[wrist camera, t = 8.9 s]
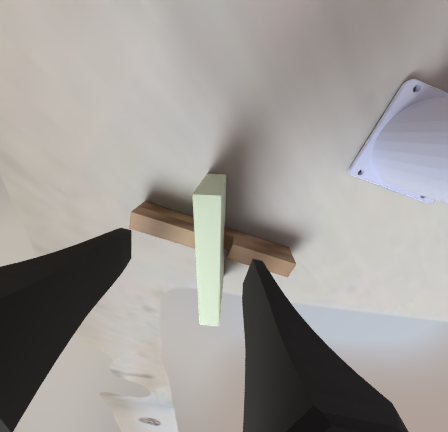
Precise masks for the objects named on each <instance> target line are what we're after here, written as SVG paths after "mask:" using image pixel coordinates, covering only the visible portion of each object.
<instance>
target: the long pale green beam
mask: <svg viewBox="0 0 448 432" xmlns="http://www.w3.org/2000/svg"><path fill="white" fill-rule="evenodd" d="M192 196H193V214H194V232H195V251H196V269H197V287H198V305H199V324H200V325H209V326H219V319H220V309H221V299H222V288H223V277H224V224H225V209H226V174H209V173H207V175H206V176H205V178H204V179H203V180H202V182H201V183H200V185H199V186H198V187H197V189H196V190H195V192H194V193H193V194H192Z"/></svg>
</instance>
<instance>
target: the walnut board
mask: <svg viewBox="0 0 448 432" xmlns="http://www.w3.org/2000/svg"><path fill="white" fill-rule="evenodd" d="M129 228H130V229H133V230H136V231H139V232H143V233H146V234H149V235H152V236H156V237H159V238H162V239H165V240H169V241H172V242H175V243H178V244H182V245H185V246H188V247H191V248H194V249H195V232H194V217H192V216H189V215H186V214H183V213H179V212H176V211H173V210H170V209H167V208H164V207H161V206H158V205H155V204H152V203H148V202H143V203H142V204H141V205H139V206H138V207H137V208H136V209H134V210H133V211H132V212H131V217H130V226H129ZM224 249H225V250H228V252H227V259H230V260H233V261H237V262H240V263H243V264H246V265H249V266H250V264H251V261H252V259H257V260H261V261H263V262H264V264H265V265H266V267H267V269H268V270H269V272H272V273H275V274H279V275H282V276H285V277H288V276H289V275H290V273H291V271H292V270H293V268H294V267H295V265H296V262H295V260H294V258H293V256H292V254H291V251H290V249H289V248H288V247H285V246H282V245H279V244H275V243H272V242H269V241H266V240H263V239H260V238H257V237H254V236H251V235H248V234H244V233H241V232H238V231H235V230H232V229H229V228H226V227H224Z"/></svg>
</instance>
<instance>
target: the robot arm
mask: <svg viewBox="0 0 448 432" xmlns="http://www.w3.org/2000/svg"><path fill="white" fill-rule="evenodd" d="M415 86H416V90H415V92H413V88H414V87H415ZM360 170H361V173H360V174H358V172H359V171H360ZM349 174H350V175H352V176H355V177H357V178H360V179H363V180H366V181H368V182H371V183H374V184H377V185H379V186H382V187H385V188H387V189H390V190H393V191H396V192H398V193H401V194H404V195H406V196H409V197H412V198H415V199H417V200H420V201H423V202H426V203H429V204H431V203H434V202H435V201H436V200H437V201H440V202H442V203H445V204H448V93H447V92H445V91H443V90H440V89H438V88H435V87H433V86H431V85H428V84H426V83H424V82H421V81H419V80H417V79H410V80H407V81H406V82H404V83H403V85H402V86H401V88H400V89H399V91H398V92H397V94H396V96H395V97H394V99H393V100H392V102H391V103H390V105H389V107H388V108H387V110H386V111H385V113H384V115H383V116H382V118H381V119H380V121H379V122H378V124H377V126H376V127H375V129H374V130H373V132H372V134H371V135H370V137H369V138H368V140H367V141H366V143H365V145H364V146H363V148H362V149H361V151H360V153H359V154H358V156H357V157H356V159H355V160H354V162H353V164H352V165H351V167H350V168H349ZM421 195H422V196H421ZM130 259H131V230H128V229H123V228H119V229H116V230H113V231H111V232H108V233H105V234H103V235H100V236H98V237H95V238H93V239H90V240H87V241H85V242H82V243H79V244H77V245H74V246H71V247H68V248H65V249H62V250H59V251H56V252H53V253H50V254H47V255H44V256H40V257H37V258H33V259H30V260H26V261H22V262H19V263H14V264H10V265H6V266H2V267H0V432H13V431H14V429H15V427H16V426H17V424H18V422H19V420H20V419H21V417H22V415H23V414H24V412H25V410H26V409H27V407H28V405H29V404H30V402H31V400H32V399H33V397H34V395H35V394H36V392H37V390H38V389H39V387H40V385H41V384H42V382H43V381H44V379H45V378H46V376H47V374H48V373H49V371H50V370H51V368H52V366H53V365H54V363H55V362H56V360H57V359H58V357H59V355H60V354H61V352H62V351H63V350H64V348H65V347H66V345H67V343H68V342H69V341H70V339H71V337H72V336H73V335H74V333H75V332H76V330H77V329H78V327H79V326H80V325H81V323H82V322H83V320H84V319H85V317H86V316H87V315H88V313H89V312H90V311H91V310H92V308H93V307H94V306H95V305H96V304H97V302H98V301H99V300H100V299H101V298H102V296H103V295H104V294H105V293H106V292H107V290H108V289H109V288H110V287H111V286H112V284H113V283H114V282H115V281H116V280H117V278H118V277H119V276H120V275H121V273H122V272H123V270H124V269H125V267H126V266H127V264H128V263H129V261H130ZM242 303H243V317H244V331H245V348H246V359H245V400H244V423H243V432H408V430H407V428H406V427H405V425H404V423H403V422H402V420H401V418H400V416H399V414H398V413H397V411H396V409H395V408H394V406H393V404H392V403H391V402H390V401H389V400H387V399H386V398H385V397H384V396H383V395H382V394H380V393H379V392H378V391H377V390H376V389H375V388H373V387H372V386H371V385H370V384H369V383H368V382H366V381H365V380H364V379H363V378H362V377H360V376H359V375H358V374H357V373H356V372H355V371H354V370H353V369H352V368H351V367H349V366H348V365H347V364H346V363H345V362H344V361H343V360H342V359H341V358H340V357H339V356H338V355H337V354H336V353H335V352H334V351H332V349H331V348H329V347H328V346H327V344H325V342H324V341H323V340H322V339H321V338H320V337H319V336H318V335H317V334H316V333H315V332H314V331H313V330H312V329H311V327H310V326H309V325H308V324H307V323H306V322H305V321H304V319H303V318H302V317H301V316H300V315H299V313H298V312H297V311H296V310H295V308H294V307H293V306H292V304H291V303H290V302H289V300H288V299H287V298H286V296H285V295H284V293H283V292H282V291H281V289H280V288H279V286H278V285H277V283H276V282H275V280H274V278H273V277H272V275H271V274H270V272H269V270H268V269H267V267H266V265H265V264H264V262H263V261H261V260H257V259H252V261H251V264H250V267H249V269H248V272H247V275H246V277H245V280H244V282H243V295H242Z"/></svg>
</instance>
